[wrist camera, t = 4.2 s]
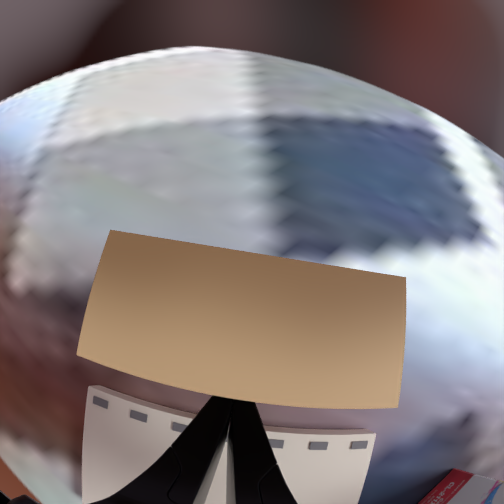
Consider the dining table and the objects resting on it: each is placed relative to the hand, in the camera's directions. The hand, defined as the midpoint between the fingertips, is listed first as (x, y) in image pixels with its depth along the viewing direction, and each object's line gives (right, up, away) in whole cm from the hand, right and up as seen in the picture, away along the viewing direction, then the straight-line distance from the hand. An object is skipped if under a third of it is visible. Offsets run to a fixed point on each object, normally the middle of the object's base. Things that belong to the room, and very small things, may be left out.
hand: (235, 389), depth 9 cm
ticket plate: (-1, -10, +3) cm, 10 cm away
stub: (0, -1, +7) cm, 7 cm away
